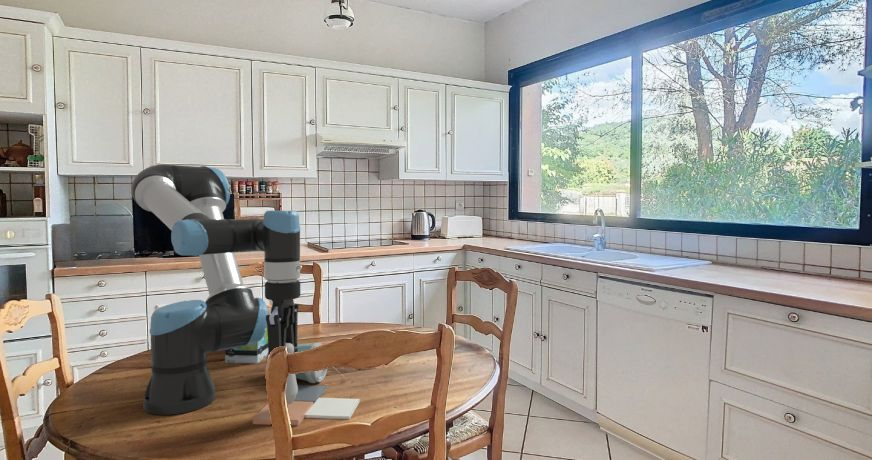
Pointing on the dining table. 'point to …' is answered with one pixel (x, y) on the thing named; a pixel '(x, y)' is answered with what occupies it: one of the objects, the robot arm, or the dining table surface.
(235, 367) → the dining table surface
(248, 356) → the tea box
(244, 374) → the dining table surface
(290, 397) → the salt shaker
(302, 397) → the slate coaster
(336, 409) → the white coaster
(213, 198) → the robot arm
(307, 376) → the disposable coffee cup
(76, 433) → the dining table surface
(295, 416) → the terracotta coaster
